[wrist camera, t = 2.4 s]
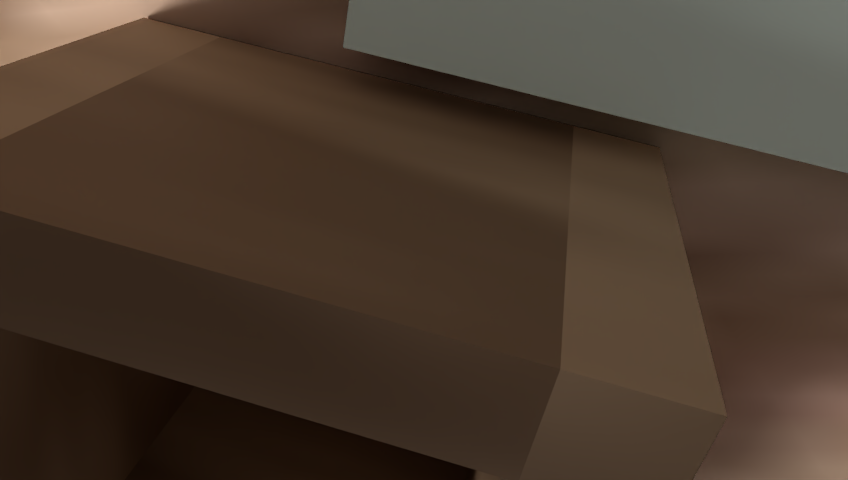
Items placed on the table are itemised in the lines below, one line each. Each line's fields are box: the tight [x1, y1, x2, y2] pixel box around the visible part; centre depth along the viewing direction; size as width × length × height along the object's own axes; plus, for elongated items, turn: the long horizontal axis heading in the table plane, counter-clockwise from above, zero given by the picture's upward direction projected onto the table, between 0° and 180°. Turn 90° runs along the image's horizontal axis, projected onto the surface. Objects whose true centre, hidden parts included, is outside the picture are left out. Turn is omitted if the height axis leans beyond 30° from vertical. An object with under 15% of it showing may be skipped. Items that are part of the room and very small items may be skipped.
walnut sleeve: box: [0, 18, 727, 480], centre depth 9 cm, size 7×7×5 cm
